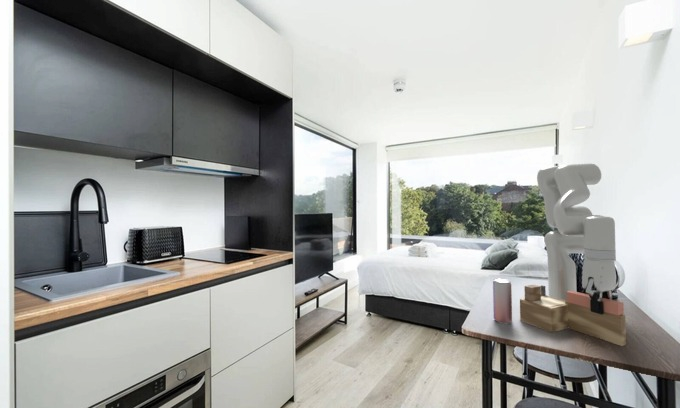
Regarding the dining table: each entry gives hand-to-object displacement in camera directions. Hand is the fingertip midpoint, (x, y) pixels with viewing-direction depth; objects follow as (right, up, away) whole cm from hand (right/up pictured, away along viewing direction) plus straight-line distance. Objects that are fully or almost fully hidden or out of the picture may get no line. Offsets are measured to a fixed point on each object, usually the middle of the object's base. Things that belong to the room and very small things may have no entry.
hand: (601, 311), depth 92 cm
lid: (-9, -2, +12) cm, 15 cm away
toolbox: (-6, -9, +5) cm, 12 cm away
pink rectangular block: (-1, +1, +2) cm, 2 cm away
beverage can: (-23, -9, +15) cm, 29 cm away
